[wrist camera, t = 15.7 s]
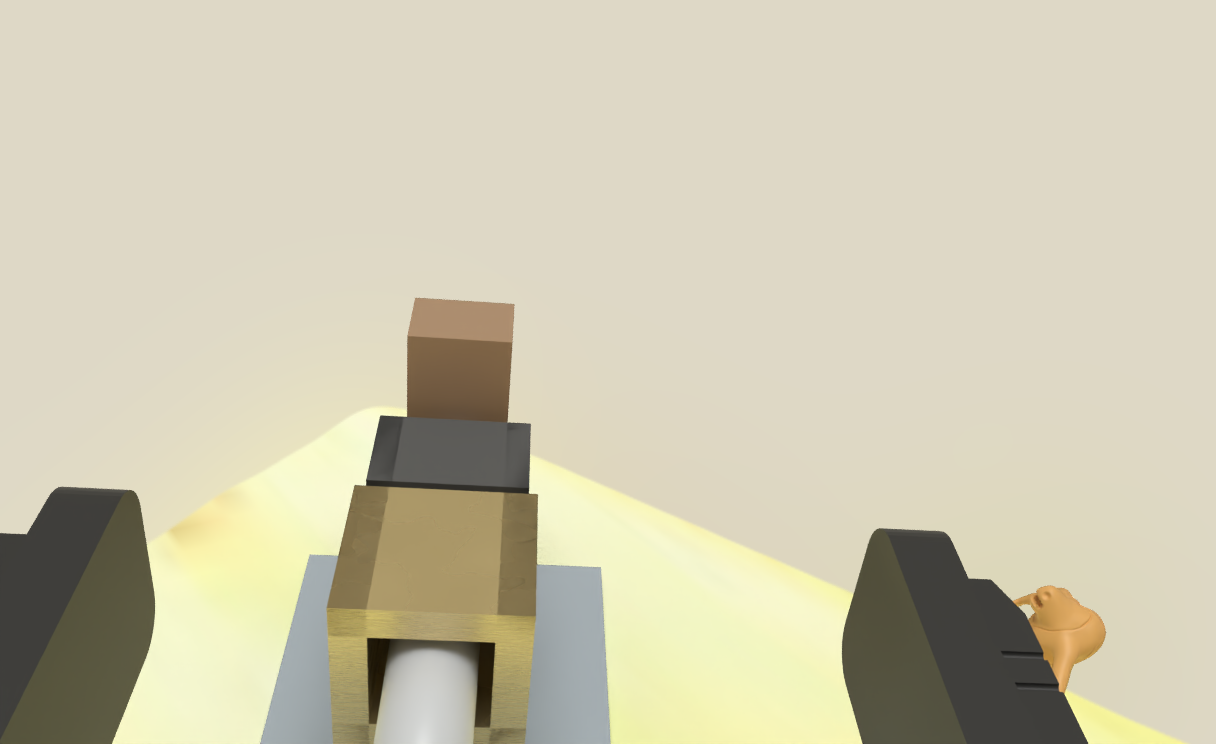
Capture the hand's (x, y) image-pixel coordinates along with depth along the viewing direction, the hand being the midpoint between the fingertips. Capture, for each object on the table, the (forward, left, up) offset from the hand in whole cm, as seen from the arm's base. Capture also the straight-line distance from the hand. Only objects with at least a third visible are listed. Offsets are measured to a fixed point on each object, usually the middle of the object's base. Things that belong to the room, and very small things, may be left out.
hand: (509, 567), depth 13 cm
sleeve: (+2, -19, -23) cm, 30 cm away
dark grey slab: (+2, -25, -23) cm, 34 cm away
